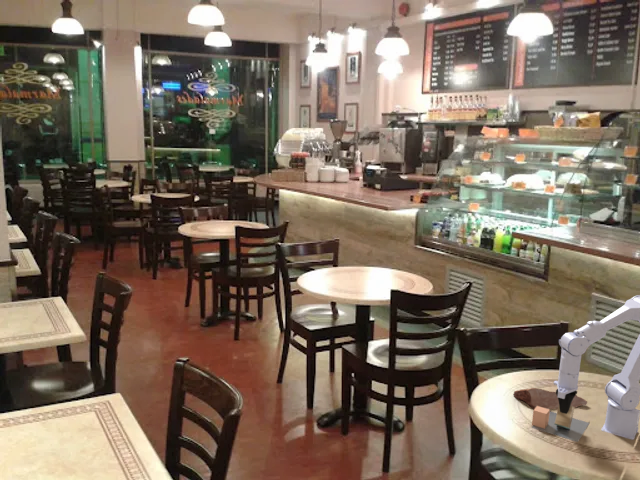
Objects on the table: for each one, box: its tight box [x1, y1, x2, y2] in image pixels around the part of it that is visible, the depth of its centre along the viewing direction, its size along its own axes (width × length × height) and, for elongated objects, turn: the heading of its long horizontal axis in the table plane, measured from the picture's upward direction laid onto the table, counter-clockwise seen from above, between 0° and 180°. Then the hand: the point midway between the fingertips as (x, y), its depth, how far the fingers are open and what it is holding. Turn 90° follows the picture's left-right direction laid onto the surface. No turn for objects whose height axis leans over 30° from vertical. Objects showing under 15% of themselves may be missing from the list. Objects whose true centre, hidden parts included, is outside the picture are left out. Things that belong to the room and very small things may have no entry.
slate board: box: [531, 410, 590, 443], centre depth 200 cm, size 14×16×1 cm
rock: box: [512, 387, 588, 410], centre depth 217 cm, size 10×24×10 cm
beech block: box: [555, 406, 576, 429], centre depth 197 cm, size 4×4×7 cm
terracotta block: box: [531, 406, 551, 429], centre depth 199 cm, size 4×4×5 cm
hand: (563, 412), depth 196 cm, fingers closed
